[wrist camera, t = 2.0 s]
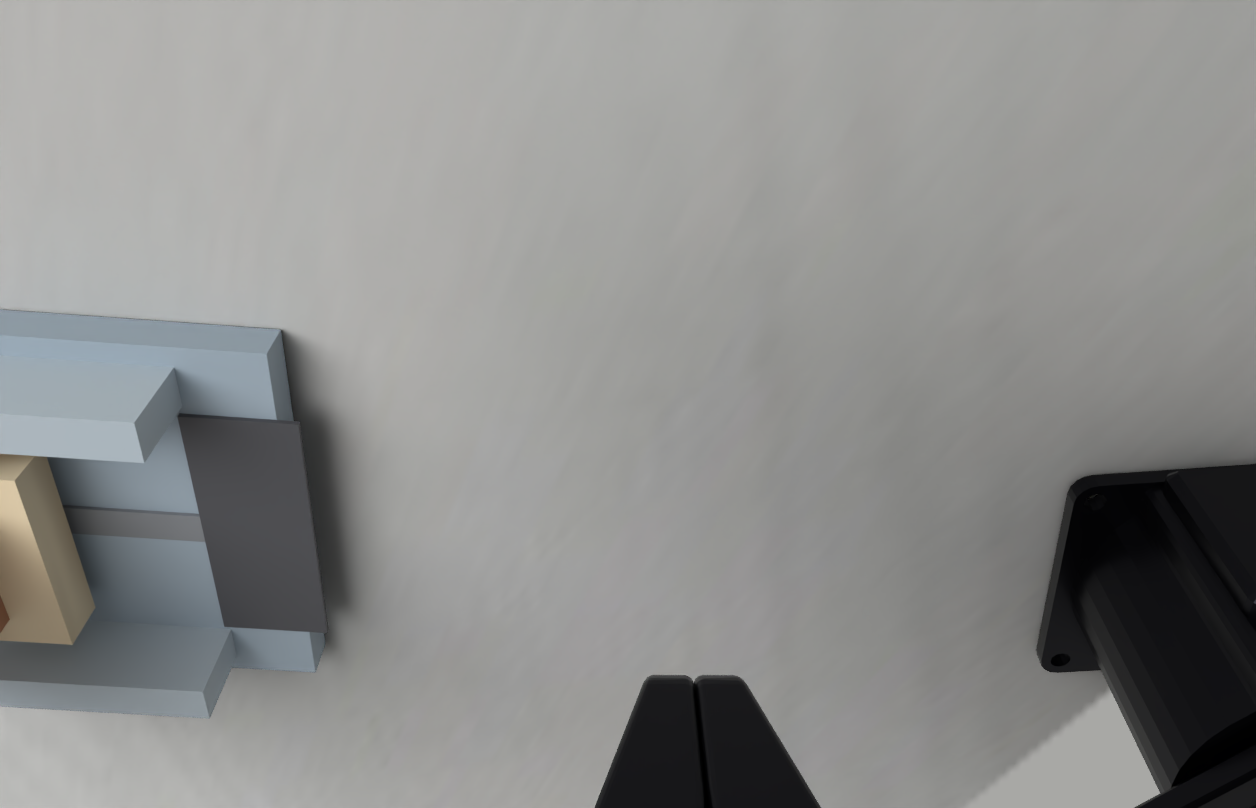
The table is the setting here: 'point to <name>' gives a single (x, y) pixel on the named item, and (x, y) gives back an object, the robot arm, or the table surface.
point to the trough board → (164, 509)
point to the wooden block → (38, 558)
